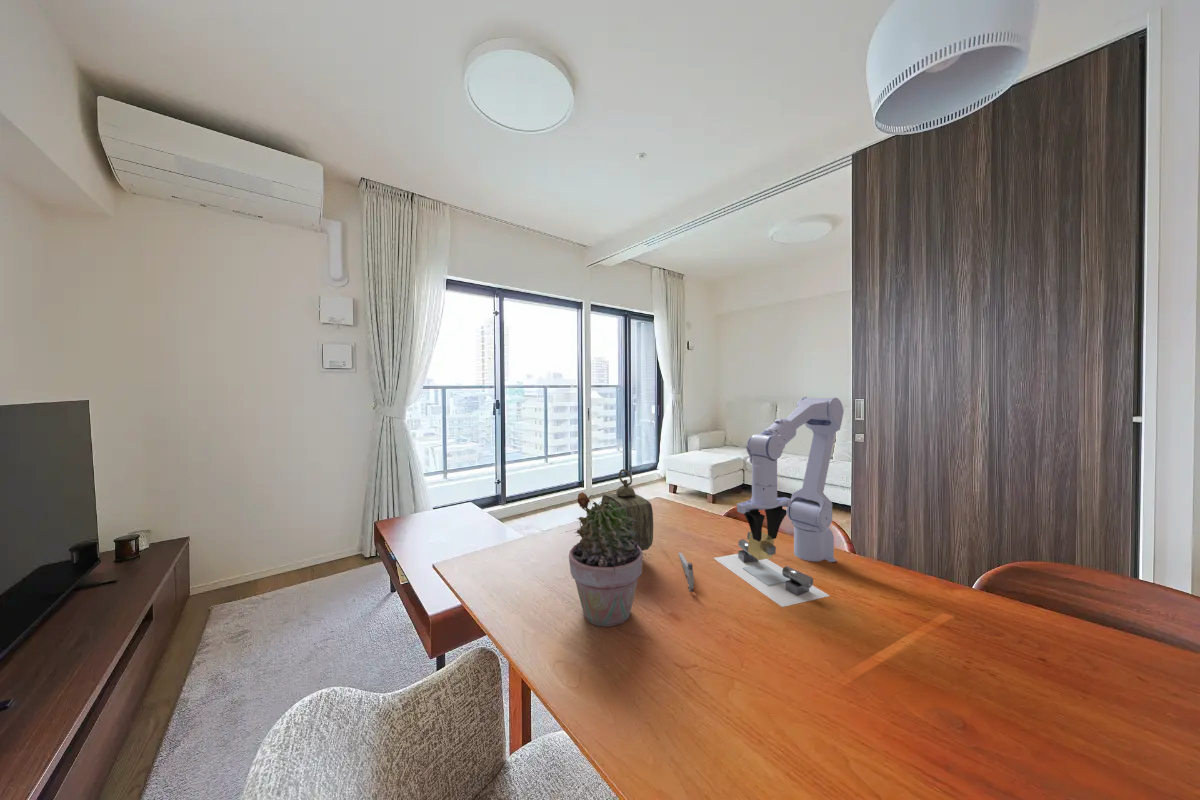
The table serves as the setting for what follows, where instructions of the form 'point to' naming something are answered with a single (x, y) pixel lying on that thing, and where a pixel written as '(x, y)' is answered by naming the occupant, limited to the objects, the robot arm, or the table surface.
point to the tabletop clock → (634, 511)
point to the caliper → (687, 571)
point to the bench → (768, 580)
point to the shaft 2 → (797, 581)
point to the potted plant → (605, 563)
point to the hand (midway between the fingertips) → (764, 538)
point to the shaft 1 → (745, 552)
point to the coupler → (761, 546)
